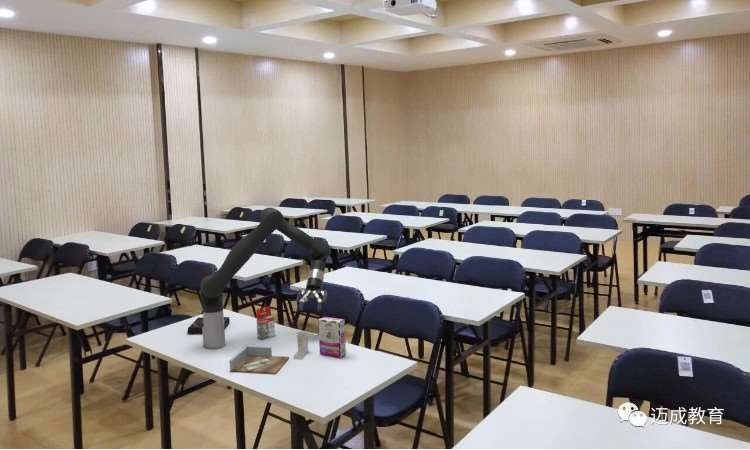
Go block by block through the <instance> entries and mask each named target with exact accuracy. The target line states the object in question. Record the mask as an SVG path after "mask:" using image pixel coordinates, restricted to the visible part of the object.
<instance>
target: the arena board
mask: <svg viewBox="0 0 750 450" xmlns="http://www.w3.org/2000/svg"><path fill="white" fill-rule="evenodd" d="M289 359H290V356H281V355H272V356H271V357H262V356H247V357H246V358H245V359H244V360H243V361H242V362H241V363H240V364H239V365H238V366H237V367H236V368H234V369H233V371H232V370H230V369H229V371H230V373H245V374H266V375H277V373H278V372H279V371H280V370H281V369H282V368H283V366H285V364H286V363H287V362H288V360H289Z"/></svg>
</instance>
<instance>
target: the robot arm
mask: <svg viewBox="0 0 750 450" xmlns="http://www.w3.org/2000/svg"><path fill="white" fill-rule="evenodd" d="M259 219H260V222H259V223H258V225H257V226H256V227H255V228H254V229H253V230H251V232H249V233H248V234H246V235H244V236H243V237H242V238H241V239H239V240H238V241H237V243H236V244H235V245H234V246H233V247H232V248H231V249H230V251H229V252H228V254H227V255H226V257H225V258H224V261H223V263H222V264H221V265H220V267H219V268H218V270H217V271H216V272H215V273H214V274H213V275H212V274H211V275H206V276H204V277H203V278H201V279H202V280H201V281H200V284H199V285H200V287H199V288H200V300H201V308H202V316H203V321H204V327H202V333H203V334H202V344H203V345H202V346H203V347H202V348H206V349H220V348H223V347H224V346H226V331H225V330H226V329H224V317H225V316H224V304H223V298H222V294H223V291H224V290H225V288H226V287H227V285H228V284H229V283H230V281H231V280H232V279H233V278H234V277H235V275H236V274H237V273H238V272H239V271H240V270H241V269H242V268H243V266H244V265H246V263H248V261H249V260H250V259H251V258H252V257H253V255H254V254H255V253H256V252H257V251H258V250H259V248H260V247H261V246H262V245H263V244H264V242H265V241H266V240H267V239H268V238H269V237H270V236H271V235H272V234H273V233H274V232H275V231H277V232H278V231H279V232H280V233H281V234H283V235H284V236H285V237H287V239H289V240H291V241H292V242H293V243H295V244H296V245H297V246H299V247H300V248H302V250H305V251H310V254H309V255H310V256H309V257H310V269H309V273H308V276H307V279H306V280H307V281H306V285H305V290H302V289H299V290H298V292H297V296H296V302H297V304H299V305H298V310H299V311H300V312H302V311H303V307H304V304H305V303H306V302H308V301H311V300H312V301H317V309H316V310H317V312H318V313H320V311H321V310H322V309H323V305H324V304H325V305H326V304H327V301H328V292H327V290H326V289H325V290H323V289H322V288H323V284H324V279H325V278H324V277H325V276H324V275H325V269H326V263H325V262H324V261H323V260H324V259H325V258H327V257H330V255H331V253H332V251H331V247H330V246H329V244H327V243H326V242H324V241H322V240H319V239H317V238H314V237H312V236H311V235H309V234H308V233H307V232H305V231H303V230H302V229H300V228H299V227H297V226H295V225H294V224H292V223H290V222H289V221H287V220H286V219H285V218H284V215H283V214H282V212H281V211H280V210H279V209H276V208H274V207H266V208H264V209H262V211H261V212H260V214H259ZM320 296H323V298H322V299H321V298H320Z"/></svg>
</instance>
